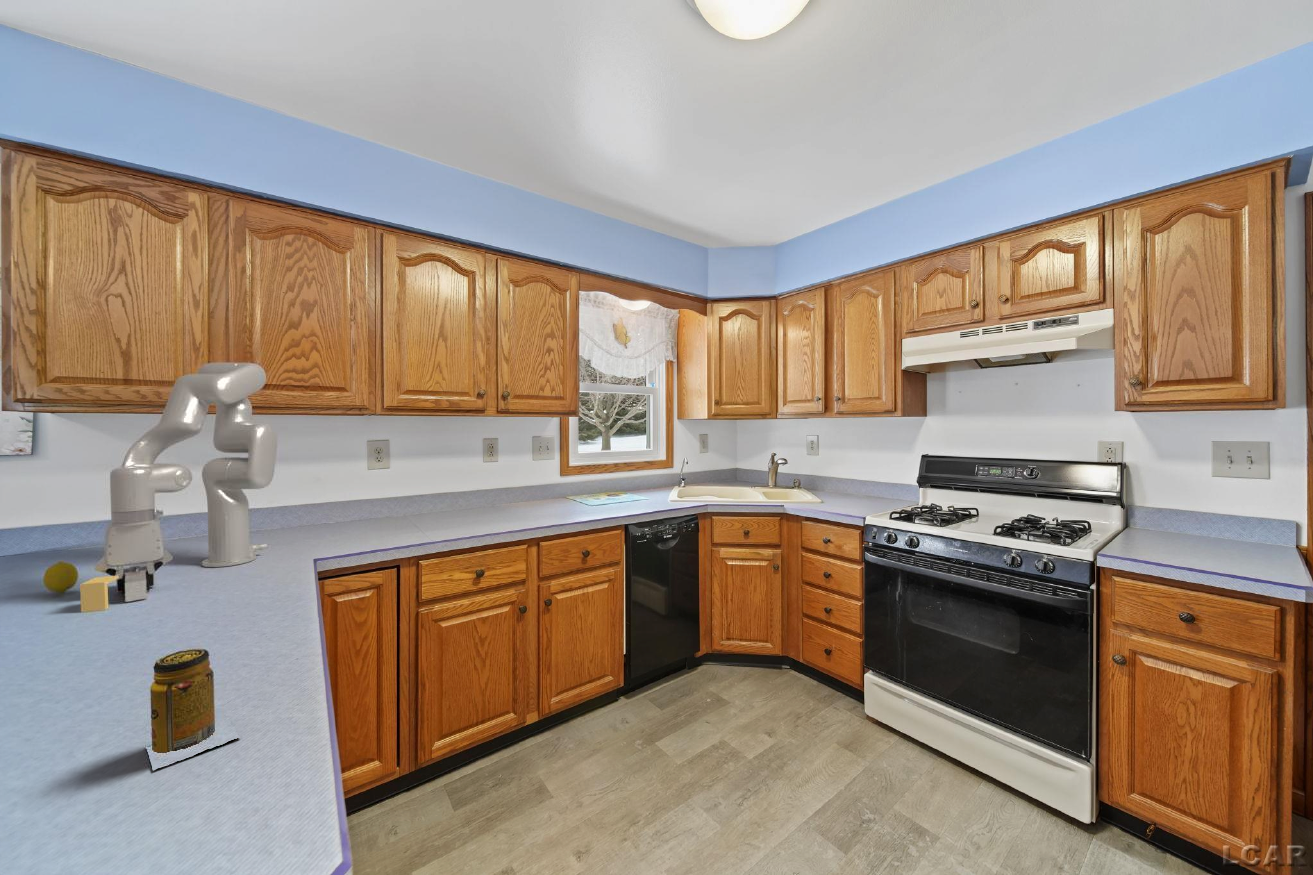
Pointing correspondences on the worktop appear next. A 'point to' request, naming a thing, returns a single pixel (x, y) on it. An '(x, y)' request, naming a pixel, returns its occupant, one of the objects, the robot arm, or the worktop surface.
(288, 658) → the worktop surface
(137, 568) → the cylinder
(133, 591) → the link
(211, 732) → the condiment
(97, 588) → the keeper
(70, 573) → the lemon
